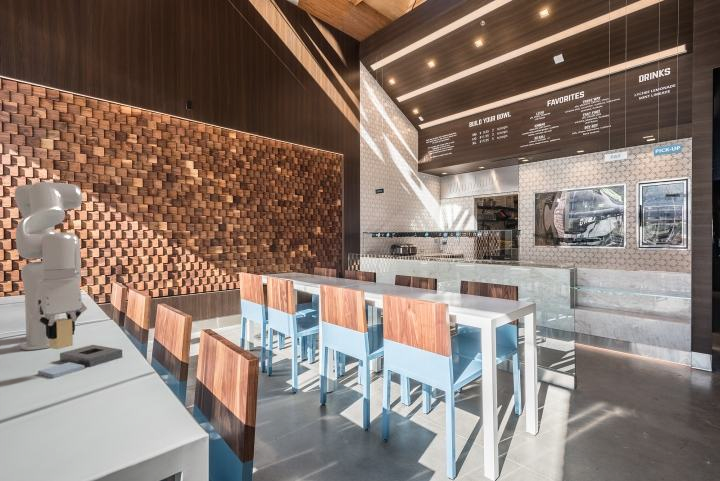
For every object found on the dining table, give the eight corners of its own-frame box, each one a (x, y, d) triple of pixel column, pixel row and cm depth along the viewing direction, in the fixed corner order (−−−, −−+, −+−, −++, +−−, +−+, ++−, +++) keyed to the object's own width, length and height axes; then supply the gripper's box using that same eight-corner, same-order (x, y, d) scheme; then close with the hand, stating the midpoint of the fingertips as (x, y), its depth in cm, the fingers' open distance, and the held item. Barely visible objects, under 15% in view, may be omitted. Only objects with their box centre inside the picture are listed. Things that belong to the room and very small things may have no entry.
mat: (38, 374, 108) (38, 370, 108) (69, 365, 115) (69, 362, 115) (53, 377, 104) (53, 374, 104) (84, 368, 112) (84, 365, 112)
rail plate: (60, 360, 120) (59, 353, 120) (93, 351, 129) (92, 344, 129) (89, 366, 113) (89, 358, 113) (122, 357, 122) (122, 349, 122)
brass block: (49, 348, 108) (48, 320, 108) (64, 344, 112) (64, 318, 112) (57, 349, 107) (56, 321, 107) (72, 345, 110) (72, 319, 110)
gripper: (82, 272, 119) (84, 329, 119) (17, 277, 103) (19, 342, 103) (96, 272, 116) (98, 330, 116) (31, 278, 100) (33, 345, 100)
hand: (60, 335), depth 109 cm, fingers closed on brass block, 4 cm apart
